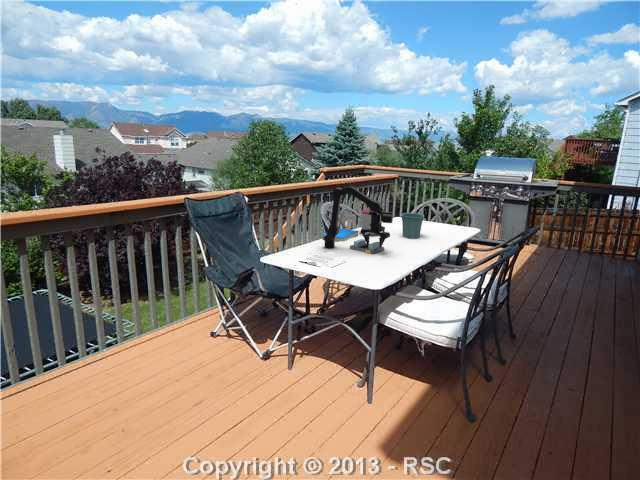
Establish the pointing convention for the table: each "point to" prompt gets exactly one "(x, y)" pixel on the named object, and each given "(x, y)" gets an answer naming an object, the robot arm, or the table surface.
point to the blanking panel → (373, 246)
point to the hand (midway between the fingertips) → (374, 246)
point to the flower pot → (412, 224)
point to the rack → (366, 249)
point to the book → (344, 235)
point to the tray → (322, 260)
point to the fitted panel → (359, 242)
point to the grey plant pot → (366, 219)
